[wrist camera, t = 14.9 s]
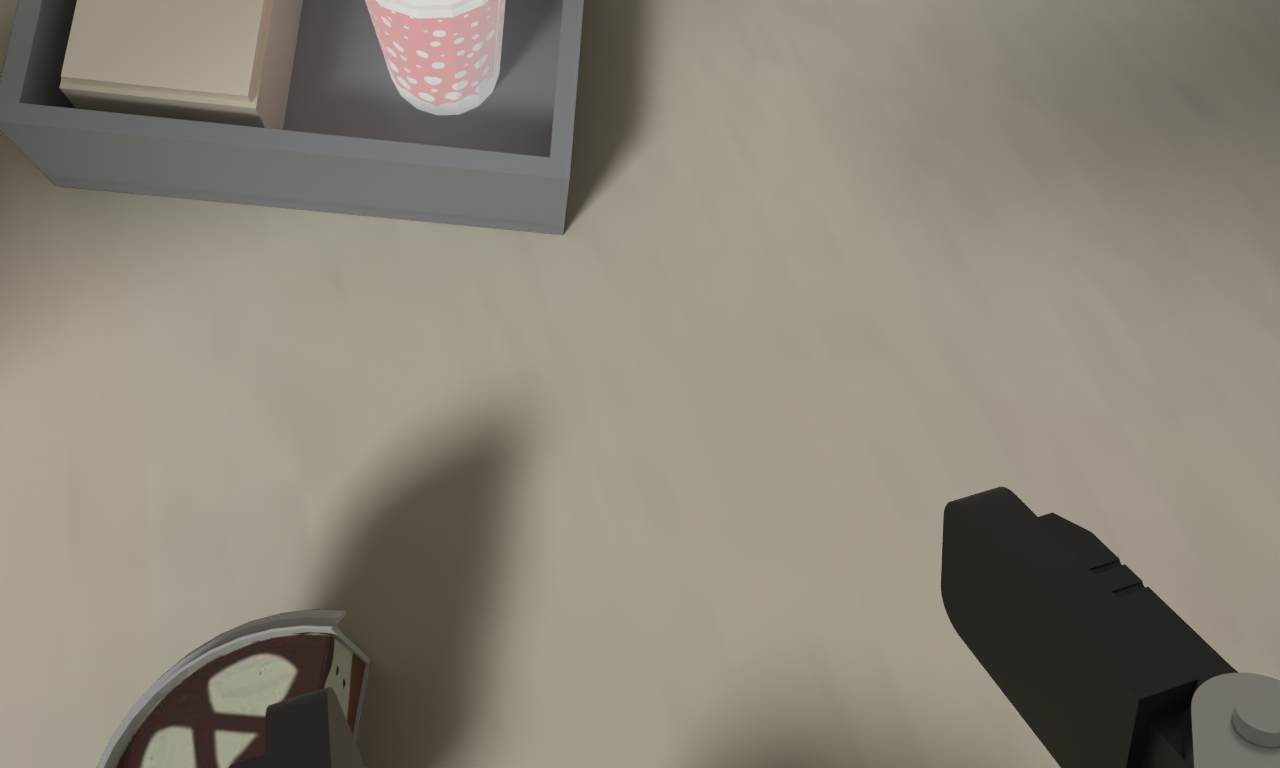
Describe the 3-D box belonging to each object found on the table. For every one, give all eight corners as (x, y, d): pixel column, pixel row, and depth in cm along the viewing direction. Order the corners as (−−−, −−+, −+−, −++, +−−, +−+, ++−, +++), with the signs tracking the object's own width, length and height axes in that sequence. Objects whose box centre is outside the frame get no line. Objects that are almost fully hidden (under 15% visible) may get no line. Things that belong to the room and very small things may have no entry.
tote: (55, 185, 43) (-9, 120, 38) (115, -101, 47) (64, -198, 41) (563, 234, 45) (569, 179, 40) (585, -44, 49) (594, -129, 43)
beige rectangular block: (100, 138, 43) (53, 80, 39) (143, -76, 45) (104, -153, 41) (278, 156, 44) (252, 101, 39) (311, -56, 46) (290, -129, 42)
